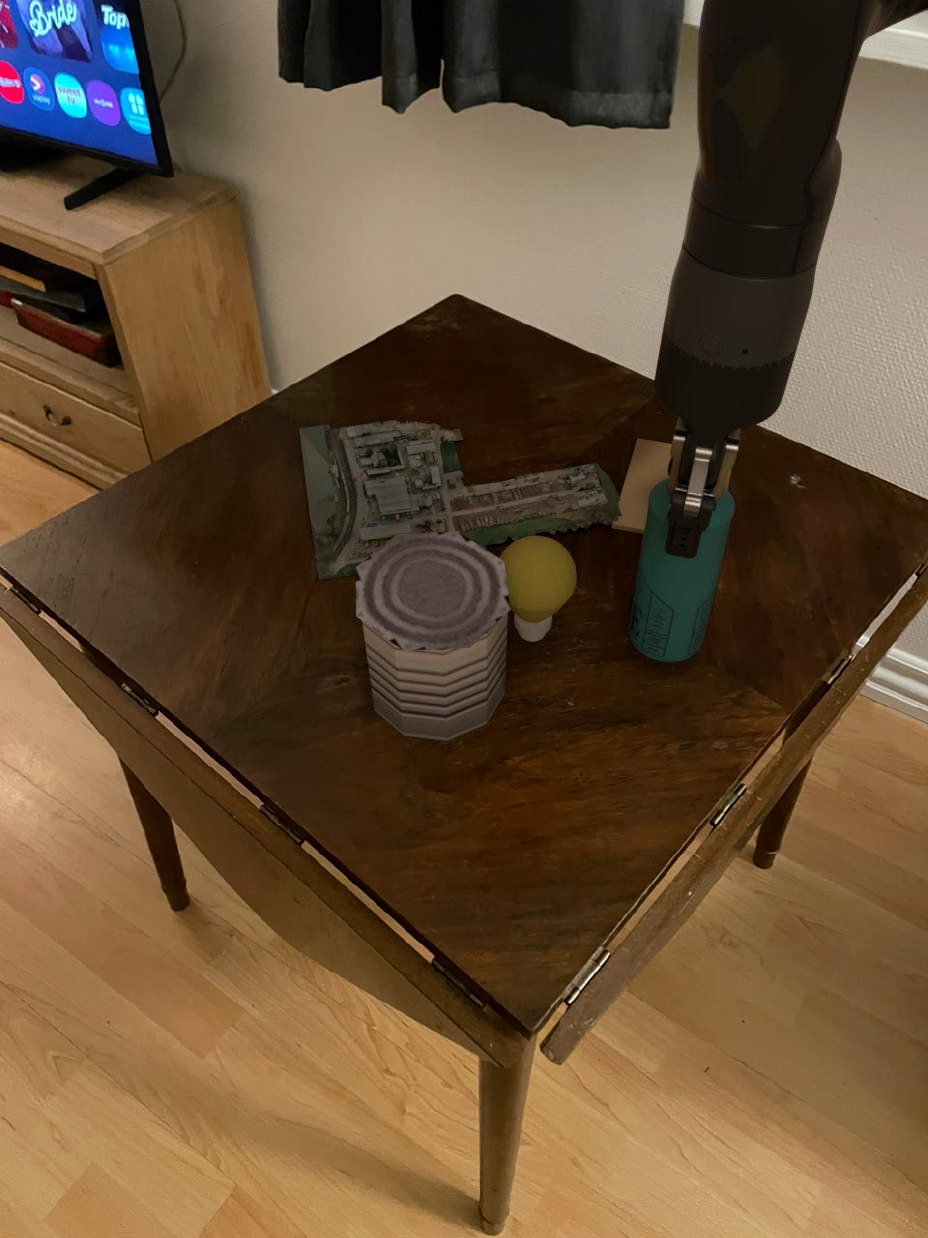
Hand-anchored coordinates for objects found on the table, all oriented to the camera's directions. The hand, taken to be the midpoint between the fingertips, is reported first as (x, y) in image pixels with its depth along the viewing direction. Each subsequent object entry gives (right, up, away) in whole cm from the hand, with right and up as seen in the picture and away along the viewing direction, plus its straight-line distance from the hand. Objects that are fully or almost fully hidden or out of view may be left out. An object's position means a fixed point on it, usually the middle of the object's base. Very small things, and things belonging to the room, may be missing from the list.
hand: (680, 549), depth 65 cm
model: (-16, +9, +29) cm, 34 cm away
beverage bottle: (+2, -8, +14) cm, 16 cm away
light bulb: (-9, -6, +16) cm, 19 cm away
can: (-17, -10, +12) cm, 23 cm away
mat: (+6, +8, +28) cm, 29 cm away
